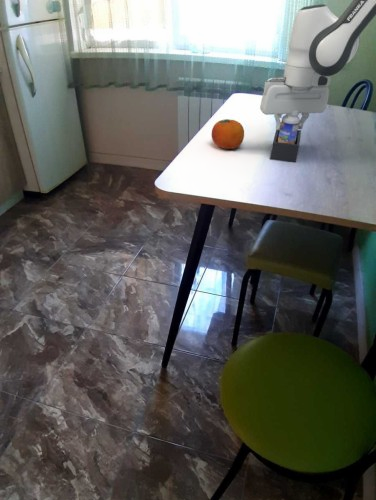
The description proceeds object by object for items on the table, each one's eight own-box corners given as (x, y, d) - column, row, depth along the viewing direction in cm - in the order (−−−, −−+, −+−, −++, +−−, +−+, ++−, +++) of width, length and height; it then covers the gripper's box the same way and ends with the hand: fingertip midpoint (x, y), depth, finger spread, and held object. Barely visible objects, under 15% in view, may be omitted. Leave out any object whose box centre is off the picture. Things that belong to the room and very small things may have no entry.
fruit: (246, 145, 138) (249, 119, 133) (237, 155, 131) (240, 128, 126) (216, 139, 141) (218, 114, 135) (206, 149, 134) (208, 122, 128)
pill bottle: (274, 142, 129) (280, 108, 122) (284, 138, 132) (291, 105, 125) (287, 147, 126) (294, 112, 120) (298, 143, 129) (305, 109, 122)
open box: (297, 146, 139) (301, 130, 136) (295, 162, 128) (299, 145, 125) (273, 143, 141) (276, 127, 137) (269, 159, 130) (272, 142, 126)
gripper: (269, 80, 112) (261, 133, 122) (336, 78, 117) (323, 130, 126) (261, 74, 117) (253, 127, 126) (325, 73, 121) (313, 124, 130)
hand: (289, 128), depth 126 cm, fingers closed on pill bottle, 5 cm apart
